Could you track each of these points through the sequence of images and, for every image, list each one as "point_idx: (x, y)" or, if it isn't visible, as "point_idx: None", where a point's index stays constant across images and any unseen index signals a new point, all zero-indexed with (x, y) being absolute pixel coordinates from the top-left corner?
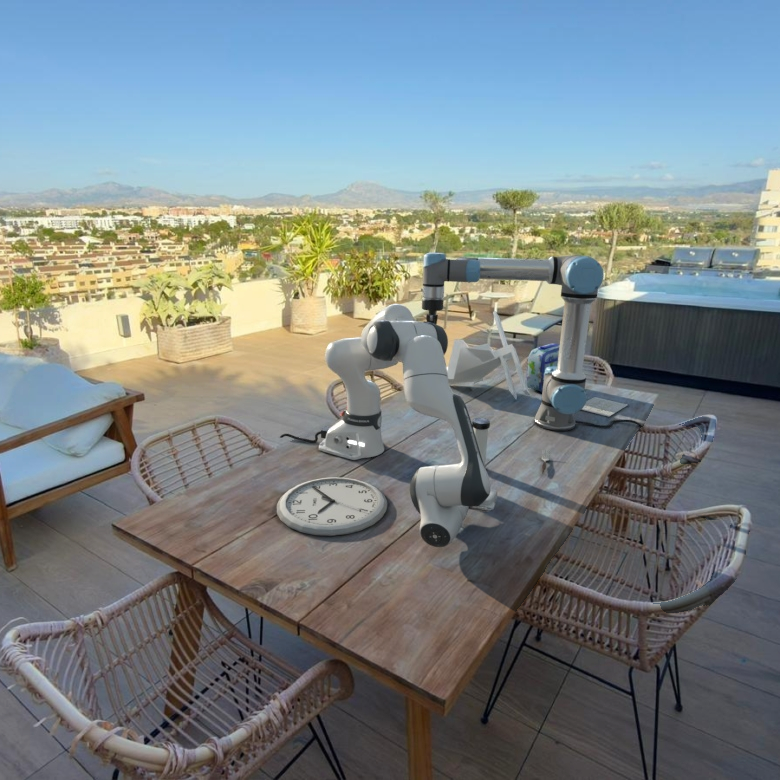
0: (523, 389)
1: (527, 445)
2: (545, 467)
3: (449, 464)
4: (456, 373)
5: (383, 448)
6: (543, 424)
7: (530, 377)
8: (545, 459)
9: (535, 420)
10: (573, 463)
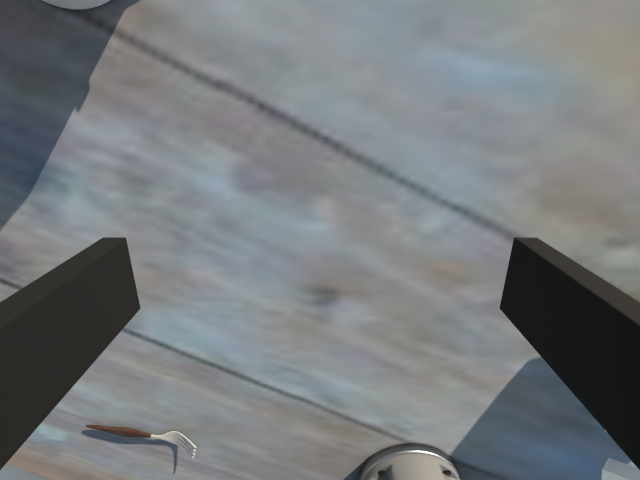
0: (608, 474)
1: (252, 412)
2: (119, 434)
3: None
4: None
5: (67, 4)
6: (374, 464)
7: None
8: (170, 437)
9: (406, 451)
10: (176, 477)
